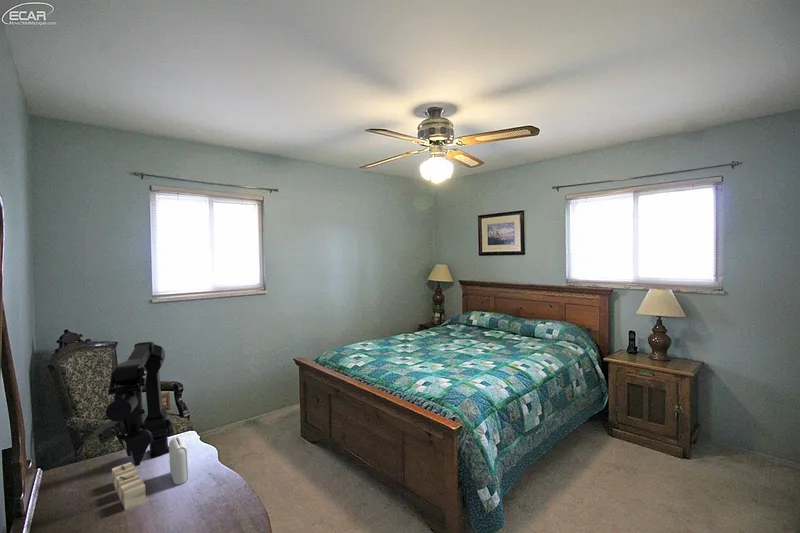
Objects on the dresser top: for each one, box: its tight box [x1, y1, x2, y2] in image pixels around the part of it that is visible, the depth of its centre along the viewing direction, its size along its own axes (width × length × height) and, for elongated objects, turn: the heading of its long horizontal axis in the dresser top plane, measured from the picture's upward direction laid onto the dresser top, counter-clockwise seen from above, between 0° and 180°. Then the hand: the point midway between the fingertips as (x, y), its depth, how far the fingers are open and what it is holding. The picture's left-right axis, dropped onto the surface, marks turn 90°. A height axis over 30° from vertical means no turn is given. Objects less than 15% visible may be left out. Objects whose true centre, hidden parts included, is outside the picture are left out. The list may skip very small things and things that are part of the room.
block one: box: [111, 462, 135, 489], centre depth 120 cm, size 5×5×5 cm
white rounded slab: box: [168, 436, 189, 485], centre depth 122 cm, size 10×4×12 cm, turn 39°
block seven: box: [116, 469, 141, 501], centre depth 115 cm, size 5×5×5 cm
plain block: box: [120, 478, 147, 511], centre depth 110 cm, size 5×5×5 cm
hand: (133, 460), depth 110 cm, fingers open, 8 cm apart
